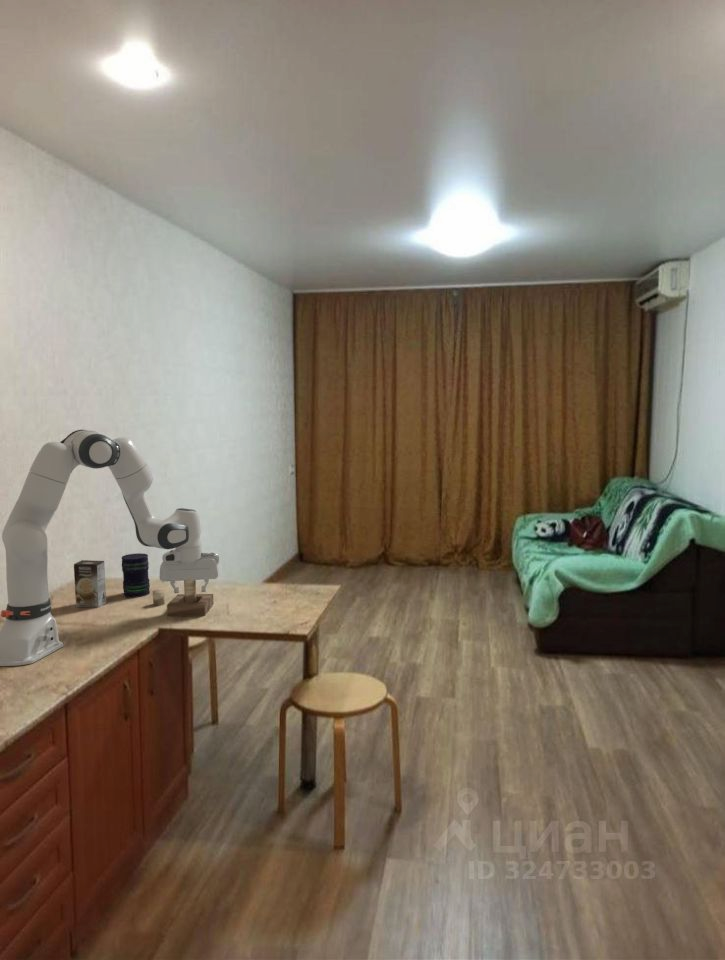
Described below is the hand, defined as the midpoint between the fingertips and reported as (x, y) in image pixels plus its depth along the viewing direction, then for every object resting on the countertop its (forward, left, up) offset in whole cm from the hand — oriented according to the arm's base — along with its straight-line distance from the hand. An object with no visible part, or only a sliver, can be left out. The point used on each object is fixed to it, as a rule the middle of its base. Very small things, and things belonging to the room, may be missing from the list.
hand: (190, 592), depth 242 cm
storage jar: (+22, +27, -7) cm, 35 cm away
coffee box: (+8, +39, -7) cm, 40 cm away
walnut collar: (0, 0, -7) cm, 7 cm away
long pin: (0, 0, -7) cm, 7 cm away
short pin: (+8, +14, -7) cm, 17 cm away
